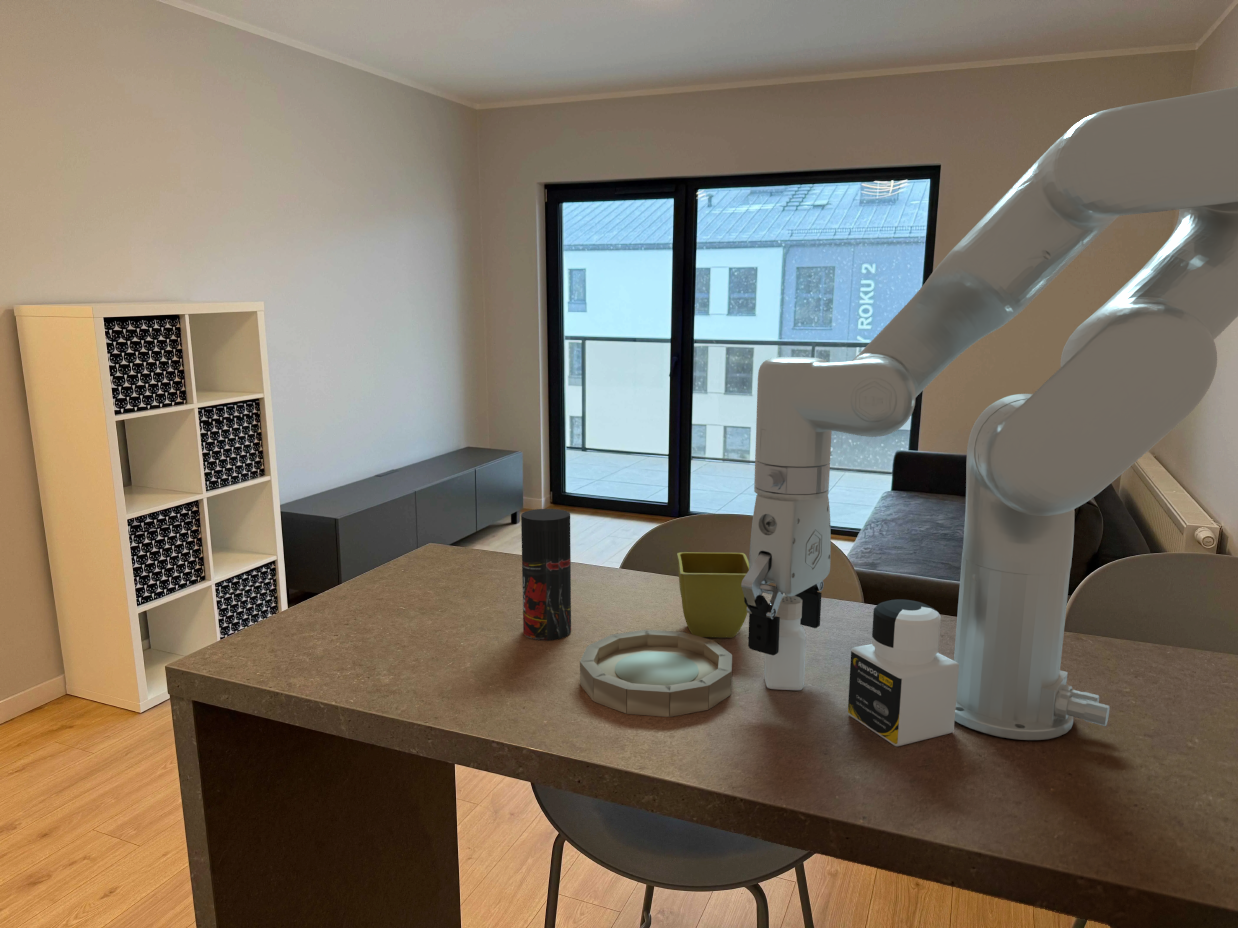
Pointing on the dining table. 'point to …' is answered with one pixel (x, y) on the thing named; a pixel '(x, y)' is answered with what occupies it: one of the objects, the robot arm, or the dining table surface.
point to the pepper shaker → (787, 648)
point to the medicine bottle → (903, 676)
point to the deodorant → (546, 574)
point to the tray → (656, 672)
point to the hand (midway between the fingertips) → (785, 637)
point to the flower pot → (713, 592)
